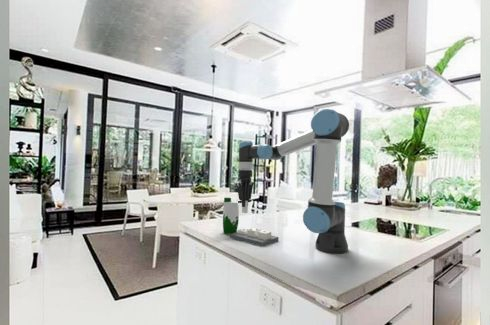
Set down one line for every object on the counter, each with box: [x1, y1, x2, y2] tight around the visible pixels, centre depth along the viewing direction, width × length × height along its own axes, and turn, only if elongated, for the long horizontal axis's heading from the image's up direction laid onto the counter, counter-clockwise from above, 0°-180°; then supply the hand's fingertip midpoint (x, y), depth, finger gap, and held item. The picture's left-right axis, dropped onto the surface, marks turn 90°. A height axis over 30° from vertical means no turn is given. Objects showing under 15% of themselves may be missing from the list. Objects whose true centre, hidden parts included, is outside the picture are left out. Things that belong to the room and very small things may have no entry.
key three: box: [237, 228, 247, 235], centre depth 150 cm, size 5×5×4 cm
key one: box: [258, 230, 272, 240], centre depth 141 cm, size 5×5×4 cm
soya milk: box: [222, 197, 240, 235], centre depth 160 cm, size 9×9×20 cm
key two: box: [246, 227, 262, 237], centre depth 146 cm, size 5×5×4 cm
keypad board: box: [229, 231, 279, 247], centre depth 146 cm, size 22×14×2 cm, turn 50°
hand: (244, 212), depth 150 cm, fingers closed
